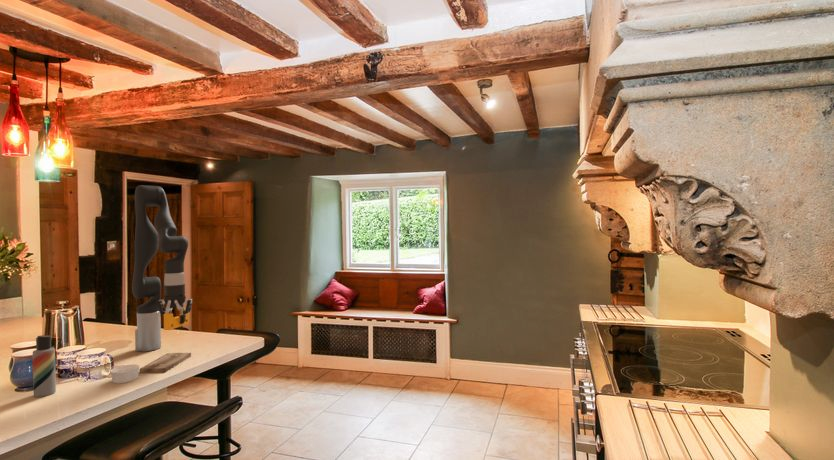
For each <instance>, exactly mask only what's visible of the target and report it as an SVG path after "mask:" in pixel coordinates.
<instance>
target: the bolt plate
mask: <svg viewBox="0 0 834 460" xmlns="http://www.w3.org/2000/svg"><path fill="white" fill-rule="evenodd" d="M191 357H192V352H168V353H166V354H163V355H162V356H160V357H158V358H156V359H154V360H153V361H151V362H149V363H147V364H146V365H144V366H142V367H139V373H140V374H141V373H142V374H146V373H166V372H169V371H170V370H172V369H173V368H175V367H176V366H177V365H179V363H180V364H181V363H182V362H184V361H186V360H187V359H189V358H191ZM174 366H175V367H174ZM171 368H172V369H171ZM168 370H169V371H168Z"/></svg>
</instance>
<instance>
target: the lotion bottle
mask: <svg viewBox="0 0 834 460" xmlns="http://www.w3.org/2000/svg"><path fill="white" fill-rule="evenodd" d="M35 343H36V345H35V348H36V349H35V350H33V351H32V380H33V381H32V386H33V396H34V397H35V398H42V397H47V396H51V395H53V394H55V393H56V389H57V385H56V383H57V382H56V381H57V380H56V350H55V347H52V336H51V335H49V334H48V335H47V334H43V335H37V337H36V338H35Z"/></svg>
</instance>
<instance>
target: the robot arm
mask: <svg viewBox="0 0 834 460" xmlns="http://www.w3.org/2000/svg"><path fill="white" fill-rule="evenodd" d="M168 203H169V202H168V197H167V195H166V192H165V190H164V189H163V187H161V186H158V185H143V184H141V185H140V184H139V185H137V186H136V187H135V189H134V208H135V211H134V212H135V232H134V265H133V272H132V273H133V274H132V275H133V276H132V281H131V283H132V284H131V293H132V295H133V297H134V298H135V299H142V298H149V299H148V300H147V301H145V302H144V303H142V304H140V305H138V306H137V307H136V329H135V330H134V343H135V347H134V348H135V351H136V352H137V351H138V352H150V351H154V350H156V351H157V350H159V349H161V348H162V329H161V328H162V324H161V323H162V320H161V315H163V316H164V314H166V313H172V310H173V309H174V308H175V309H177V311H178V312H179V315H180V324H184V322H185V321H186V314H187V313H189V314H190V313H191V310H192V306H193V301H194V299H193V298H187V297H186V277H185V259H186V254H187V251H188V248H189V240H188V239H187V238H186V236H184V235H177V234H178V229H177V227H176V224H175V222H174V220H173V218H172V216H171V215H172V214H171V212H170V208H169V204H168ZM147 207H158V208H159V209H158V211H157V213H156V215H155V217H154V225H153V223H152V222H151V221H150V219H149V217H148V215H147V210H146V208H147ZM158 250H160V251H161V252H162V253H164V254H173V253H174V254H175V256H174V257H172V258H171V257H170V258H168V259H166V260H164V277H163V279H164V280H163V285H164V288H163V289H164V291H163V292H164V298H163V299H162V281H161V279H160V277H158V276H145V272H146V269H147V267H148V265H149V264H150V262H151V261H152V260H153V259H154V258H155V255H156V254H157V252H158ZM184 303H185V304H186V305H184ZM165 304H166V307H165ZM185 308H186V309H185Z"/></svg>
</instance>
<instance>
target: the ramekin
mask: <svg viewBox="0 0 834 460" xmlns="http://www.w3.org/2000/svg"><path fill="white" fill-rule="evenodd" d="M139 369H140V365H139V364H134V363H133V364H125V365H121V366H116V367H113V368H112V369H111V370H110V374H111V375H110V376H111V381H112V383H113V384H126V383H130V382H133V381H135V380H137V379H138V378H139V373H140V371H139Z"/></svg>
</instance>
